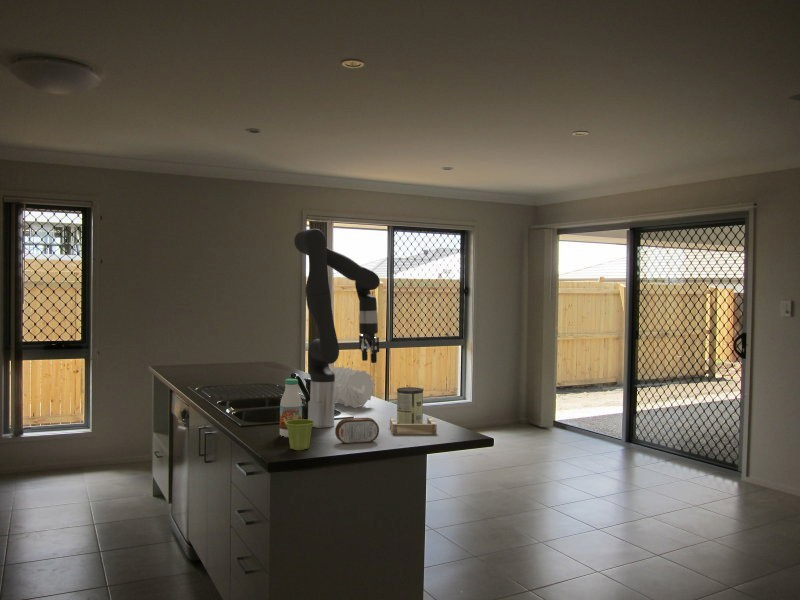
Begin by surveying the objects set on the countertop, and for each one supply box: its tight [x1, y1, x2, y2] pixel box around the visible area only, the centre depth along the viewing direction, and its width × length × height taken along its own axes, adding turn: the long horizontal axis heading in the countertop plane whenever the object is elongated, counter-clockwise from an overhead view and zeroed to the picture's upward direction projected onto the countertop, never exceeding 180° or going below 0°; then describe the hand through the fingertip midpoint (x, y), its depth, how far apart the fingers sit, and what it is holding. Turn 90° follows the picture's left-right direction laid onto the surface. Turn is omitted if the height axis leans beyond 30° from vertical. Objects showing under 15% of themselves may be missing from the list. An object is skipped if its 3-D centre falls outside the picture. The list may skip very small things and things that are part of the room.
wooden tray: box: [389, 417, 437, 435], centre depth 243 cm, size 14×16×4 cm
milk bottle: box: [279, 378, 303, 438], centre depth 231 cm, size 8×8×20 cm
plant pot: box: [285, 418, 314, 451], centre depth 211 cm, size 9×9×9 cm
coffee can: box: [396, 386, 424, 424], centre depth 254 cm, size 10×10×14 cm
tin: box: [334, 417, 380, 445], centre depth 221 cm, size 15×3×8 cm, turn 109°
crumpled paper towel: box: [330, 365, 375, 409], centre depth 298 cm, size 18×18×25 cm
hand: (369, 361), depth 264 cm, fingers open, 8 cm apart
